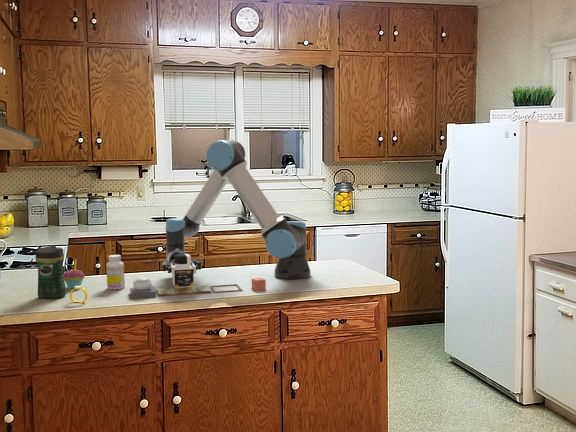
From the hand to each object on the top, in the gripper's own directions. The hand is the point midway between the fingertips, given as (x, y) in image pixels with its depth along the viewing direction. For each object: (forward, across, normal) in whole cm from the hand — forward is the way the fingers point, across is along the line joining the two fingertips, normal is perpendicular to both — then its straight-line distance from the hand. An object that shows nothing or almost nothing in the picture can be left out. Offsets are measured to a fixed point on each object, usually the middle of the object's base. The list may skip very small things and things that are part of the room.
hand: (184, 270), depth 246 cm
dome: (-4, -15, +6) cm, 17 cm away
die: (-1, +28, +9) cm, 30 cm away
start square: (-5, +16, +9) cm, 19 cm away
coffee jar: (-11, -48, +9) cm, 50 cm away
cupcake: (-25, -41, +9) cm, 49 cm away
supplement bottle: (-19, -25, +9) cm, 32 cm away
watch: (+1, -38, +9) cm, 39 cm away
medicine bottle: (-5, 0, +7) cm, 8 cm away
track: (-5, 0, +9) cm, 10 cm away
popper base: (-4, -15, +9) cm, 18 cm away
